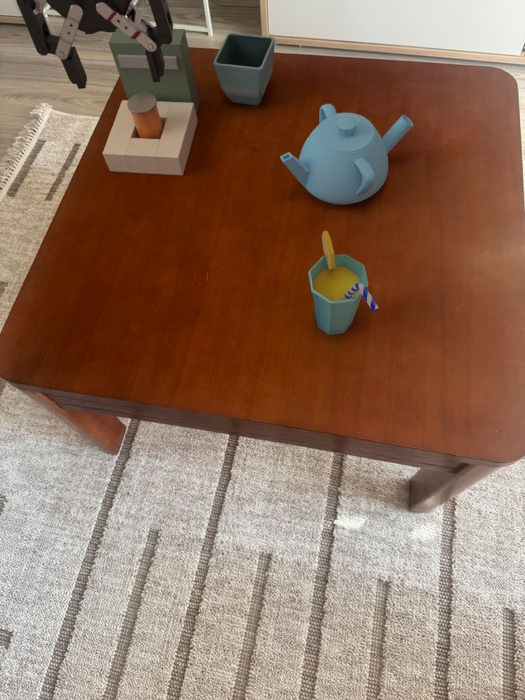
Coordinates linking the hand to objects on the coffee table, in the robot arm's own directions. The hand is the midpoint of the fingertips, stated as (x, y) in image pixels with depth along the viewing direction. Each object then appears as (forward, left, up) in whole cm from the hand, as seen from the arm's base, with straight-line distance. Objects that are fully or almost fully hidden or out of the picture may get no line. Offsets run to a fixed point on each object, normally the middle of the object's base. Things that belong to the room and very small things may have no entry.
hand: (120, 80), depth 59 cm
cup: (+27, -13, -28) cm, 41 cm away
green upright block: (-8, +29, -28) cm, 41 cm away
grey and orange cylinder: (-8, +20, -28) cm, 35 cm away
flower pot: (+7, +34, -28) cm, 45 cm away
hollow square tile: (-8, +20, -28) cm, 35 cm away
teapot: (+26, +15, -28) cm, 41 cm away
